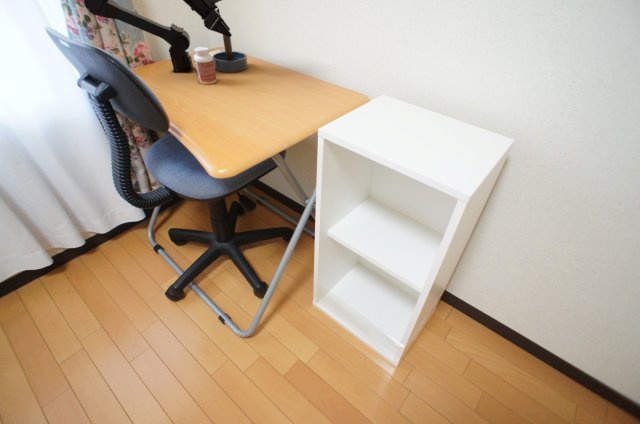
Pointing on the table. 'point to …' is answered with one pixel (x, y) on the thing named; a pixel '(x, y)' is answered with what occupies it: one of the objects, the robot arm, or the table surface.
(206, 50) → the pill bottle
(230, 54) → the stick
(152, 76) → the table surface
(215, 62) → the bowl
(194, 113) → the table surface
